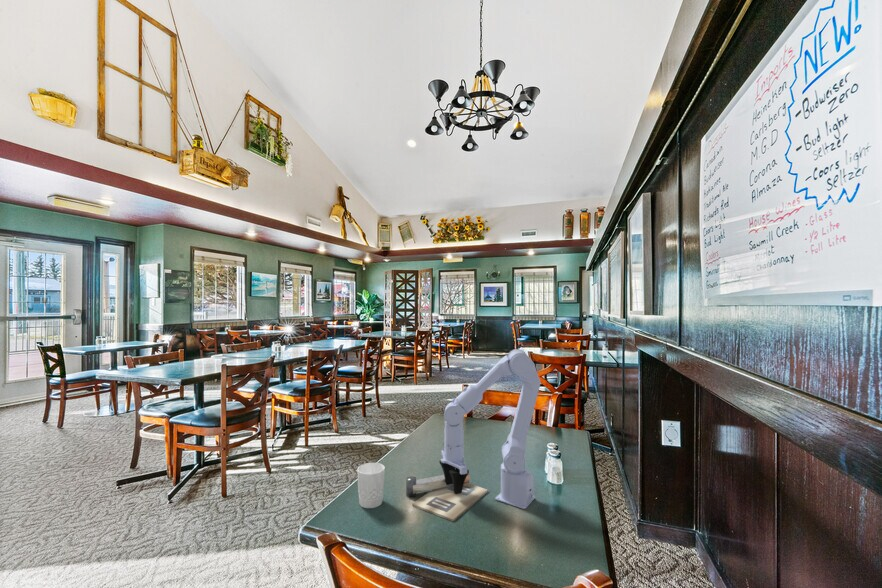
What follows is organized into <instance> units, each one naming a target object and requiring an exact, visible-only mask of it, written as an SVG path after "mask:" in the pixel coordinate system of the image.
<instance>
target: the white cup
mask: <svg viewBox="0 0 882 588" xmlns="http://www.w3.org/2000/svg"><path fill="white" fill-rule="evenodd" d="M385 471H386V468H385V465H384V464H382V463H379V462H368V463H363V464H361V465H359V466H358V467H357V492H358V503H359V504H358V505H359V506H360V507H362V508H364V509H375V508H377V507H378V508H379V507H380V506H381V505H382V504H383V500H384V499H383V498H384V486H385V473H386V472H385Z"/></svg>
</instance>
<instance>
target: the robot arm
mask: <svg viewBox="0 0 882 588" xmlns="http://www.w3.org/2000/svg"><path fill="white" fill-rule="evenodd" d="M512 372H513V373H514V374H515V375H516V376H518V378H519V380H520V381H521V382H522V386H521V391H520V393H519V394H520V395H519V398H518V402H517V405H516V409H515V413H514V417H513V421H512V425H511V429H510V433H509V434H508V435H507V438H506V441H505V442H504V444H503V445H502V446H501V452H500V453H501V456H502V459H503V460H502V461H503V462H502V463H501V464H500V493H499V494H497V495H496V496H495V498H494V499H495V500H496V501H498V502H501V503H504V504H507V505H510V506H514V507H516V508H520V509H522V510H526V509H527V508H528V506H530V505H531V503H532V502H533V501H534V499H536V496H535V476H534V474H533V473H532V472H530V471H528V470H527V469H526V458H525V457H526V456H525V453H526V450H527V449H526V448H527V447H526V445H527V441H526V440H527V438H528V434H529V430H530V426H531V422H532V418H533V414H534V411H535V406H536V402H537V399H538V395H539V392H540V387H541V379H540V376H539V374H538V371H537V368H536V365H535V363H534V361H533V360H532V359H531V357H530V356H529V355H527V353H526V352H525V351H524V350H522V349H519V348H516V349H515V348H514V349H512V350H510V351H509V352H508V354H507V355H504V356H503V357H501V359H499V360H498V361H497V363H495V364H494V365H493V366H492V368H490V369H489V371H487V372H486V373H485V375H484V376H483V377H482V378H481V379H480V380H479V381H478V382H477V383H476V384H469V385H467V386H464V387H463V388H462V392H460V394H459V395H458V396H457V397H455V398H452V399H451V402H449V403H447V404H446V406H445V409H444V412H443V418H444V426H445V427H444V429H443V432H444V439H443V440H444V449H441V457H442V458H440V459H439V462H438V463H439V464H440V466H441V468H442V471H443V475H444V477H445V482H446V485H450V484H453V489H454V493H455V494H459V493H461V492H462V489H463V485H464V481H465V479H466V477H467V475H468V474H469V475H470V470H469V469H468V465H466V461H465V457H464V428H463V421H464V418H465V417H464V416H465V415H468V414H469V413H470V412H471V411H472V410H473V409H474V408H475V407H476V406H478V404H480V402H482V401H483V397H484V396H483V395H484V393H485V392H486V391H487V390H489V388H491V387H492V386H493V385H494V384H496V383H497V382H498V381H499V380H500V378H502V377H508V376H513V374H512Z"/></svg>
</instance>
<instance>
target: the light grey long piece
mask: <svg viewBox="0 0 882 588" xmlns="http://www.w3.org/2000/svg"><path fill="white" fill-rule="evenodd" d="M405 481H406V482H405V484H406V485H405V487H406V489H405V495H406V497H407V498H415V497H416V496H417V494H418V493H423V492H427V491H431V490H433V489H438V488H442V487H447V486H452V485H453V484H450V485H446V482H445V477H444V474H441V475H435V476H430V477H425V478H420V479H417V477H415V476H407V477H406V479H405ZM464 483H469V484H470V473H469V474H468V475H467V477H466V479H465V481H464Z"/></svg>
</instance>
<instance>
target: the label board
mask: <svg viewBox="0 0 882 588" xmlns="http://www.w3.org/2000/svg"><path fill="white" fill-rule="evenodd" d="M488 492H489V489H487V488H484V487H481V486H478V485H474V484H472V483H470V482H469V483H464V485H463V489H462V492H461V493H459V494H455V493H454V489H453V485H452V486H447V487H442V488H438V489H433V490H429V492H427V493H426V494H424V495H422V497H420V498H419V499H418V498H417V500H415V501H414V502H412V503H411V504H412V505H411V506H412V507H414V508H417V509H419V510H422V511H425V512H428V513H430V514H432V515H434V516H437V517H440V518H443V519H446V520H448V521H450V522H455V521H456V520H457V519H458V518H460V517H461V516H462V515H463V514H464V513H465V512H467V511H468V509H470V508H471V507H472V506H473V505H474V504H476V503H477V502H478V501H479V500H480V499H481V498H482V497H484V496H485V495H486V494H487V493H488Z"/></svg>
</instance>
